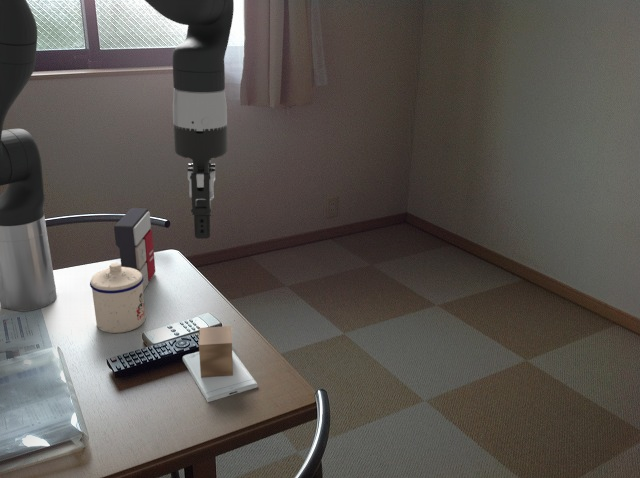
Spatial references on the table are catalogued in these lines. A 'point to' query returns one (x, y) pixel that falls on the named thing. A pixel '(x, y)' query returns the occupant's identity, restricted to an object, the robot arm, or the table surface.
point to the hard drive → (220, 378)
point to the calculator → (136, 242)
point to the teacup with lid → (118, 299)
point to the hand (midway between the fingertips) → (203, 226)
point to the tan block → (215, 351)
